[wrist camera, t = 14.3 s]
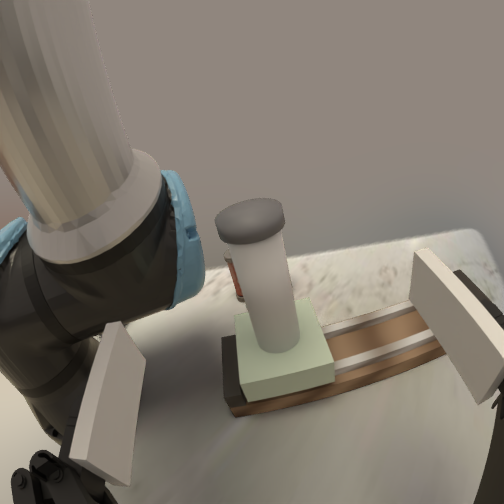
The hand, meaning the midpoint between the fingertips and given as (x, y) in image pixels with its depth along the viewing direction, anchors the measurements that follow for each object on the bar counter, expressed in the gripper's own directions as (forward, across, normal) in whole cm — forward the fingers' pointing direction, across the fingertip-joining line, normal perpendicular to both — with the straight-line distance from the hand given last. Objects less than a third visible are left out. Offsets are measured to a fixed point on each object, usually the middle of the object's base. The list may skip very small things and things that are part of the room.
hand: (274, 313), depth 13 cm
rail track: (+10, +9, -19) cm, 23 cm away
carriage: (+10, 0, -15) cm, 18 cm away
